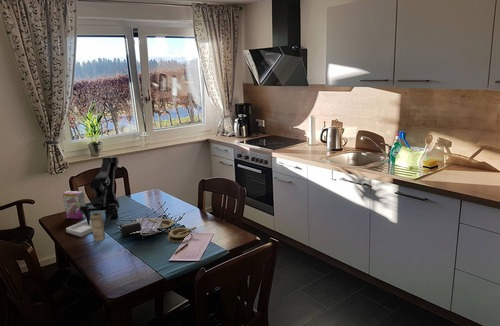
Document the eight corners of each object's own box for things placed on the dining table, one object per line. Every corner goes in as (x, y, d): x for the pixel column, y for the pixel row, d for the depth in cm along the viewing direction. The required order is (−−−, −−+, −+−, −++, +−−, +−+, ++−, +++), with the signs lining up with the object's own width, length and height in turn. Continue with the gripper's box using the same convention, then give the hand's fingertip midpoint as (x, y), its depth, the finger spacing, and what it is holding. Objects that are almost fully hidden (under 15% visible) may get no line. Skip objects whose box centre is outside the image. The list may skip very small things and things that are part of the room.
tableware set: (142, 231, 211) (141, 221, 209) (172, 220, 224) (171, 211, 222) (171, 248, 190) (170, 237, 188) (202, 235, 203) (202, 225, 201)
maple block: (96, 237, 203) (92, 212, 199) (105, 236, 204) (101, 212, 200) (94, 241, 199) (90, 216, 195) (102, 240, 199) (99, 215, 196)
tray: (86, 223, 221) (85, 220, 220) (100, 228, 215) (99, 224, 214) (66, 232, 210) (65, 228, 210) (81, 236, 204) (80, 232, 204)
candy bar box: (66, 218, 229) (61, 193, 225) (71, 215, 234) (67, 190, 230) (82, 219, 227) (78, 193, 223) (87, 216, 232) (83, 191, 228)
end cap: (123, 239, 200) (121, 227, 198) (120, 234, 206) (118, 223, 204) (142, 234, 205) (140, 223, 203) (138, 230, 211) (137, 218, 209)
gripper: (77, 191, 199) (73, 219, 191) (114, 189, 201) (111, 216, 193) (84, 200, 209) (81, 227, 201) (119, 198, 211) (117, 224, 203)
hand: (97, 224), depth 199 cm, fingers open, 9 cm apart
